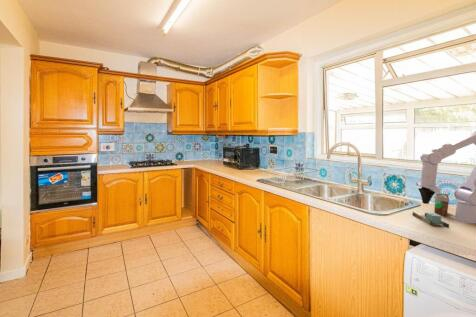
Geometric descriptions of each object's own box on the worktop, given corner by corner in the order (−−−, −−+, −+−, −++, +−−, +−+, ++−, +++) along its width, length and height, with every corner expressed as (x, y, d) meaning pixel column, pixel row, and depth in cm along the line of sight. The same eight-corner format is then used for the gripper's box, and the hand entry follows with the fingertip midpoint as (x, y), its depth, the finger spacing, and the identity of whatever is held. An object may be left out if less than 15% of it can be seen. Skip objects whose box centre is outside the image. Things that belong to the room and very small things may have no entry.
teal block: (434, 221, 117) (435, 213, 117) (440, 224, 113) (441, 216, 113) (425, 220, 117) (426, 212, 117) (431, 224, 113) (432, 215, 113)
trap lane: (425, 216, 125) (425, 212, 125) (448, 228, 110) (449, 224, 110) (412, 215, 126) (412, 212, 125) (433, 227, 110) (434, 223, 110)
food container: (431, 209, 137) (434, 191, 136) (446, 211, 133) (448, 193, 132) (431, 214, 128) (433, 196, 127) (446, 217, 124) (449, 198, 123)
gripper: (410, 173, 127) (408, 198, 128) (430, 178, 113) (426, 207, 114) (425, 173, 126) (422, 199, 128) (446, 179, 112) (443, 208, 114)
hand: (425, 203), depth 121 cm, fingers closed
